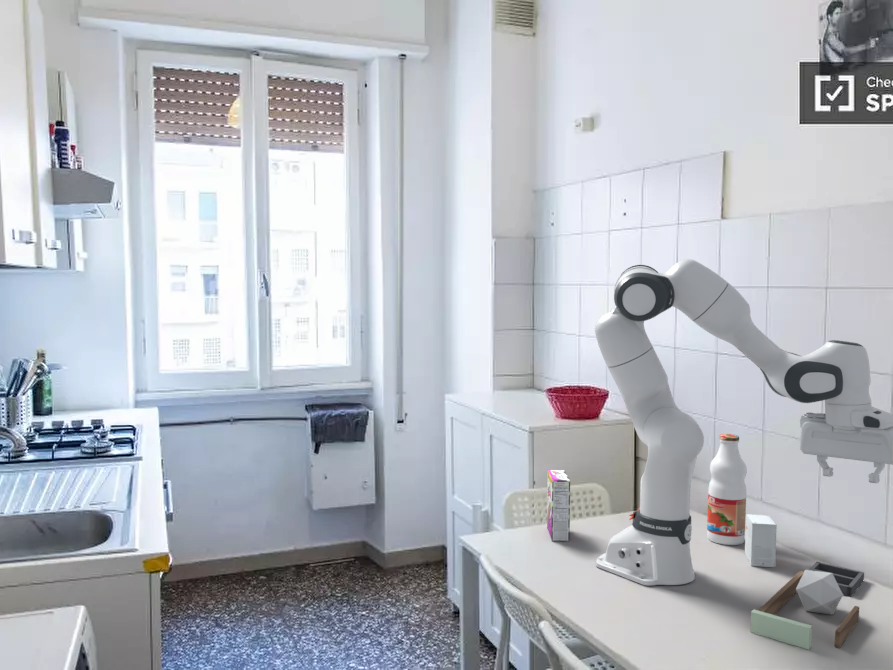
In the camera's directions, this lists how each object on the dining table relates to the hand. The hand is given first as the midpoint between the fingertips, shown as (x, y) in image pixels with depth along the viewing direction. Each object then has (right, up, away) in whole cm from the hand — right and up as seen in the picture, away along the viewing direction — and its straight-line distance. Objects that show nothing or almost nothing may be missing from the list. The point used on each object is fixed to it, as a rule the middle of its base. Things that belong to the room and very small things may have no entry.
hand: (850, 479), depth 161 cm
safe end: (-24, -27, -20) cm, 41 cm away
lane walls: (-12, -26, -9) cm, 30 cm away
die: (-10, -26, -6) cm, 29 cm away
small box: (-11, -24, +21) cm, 34 cm away
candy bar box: (-57, -23, +39) cm, 73 cm away
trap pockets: (+1, -25, +8) cm, 26 cm away
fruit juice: (-13, -23, +37) cm, 46 cm away
